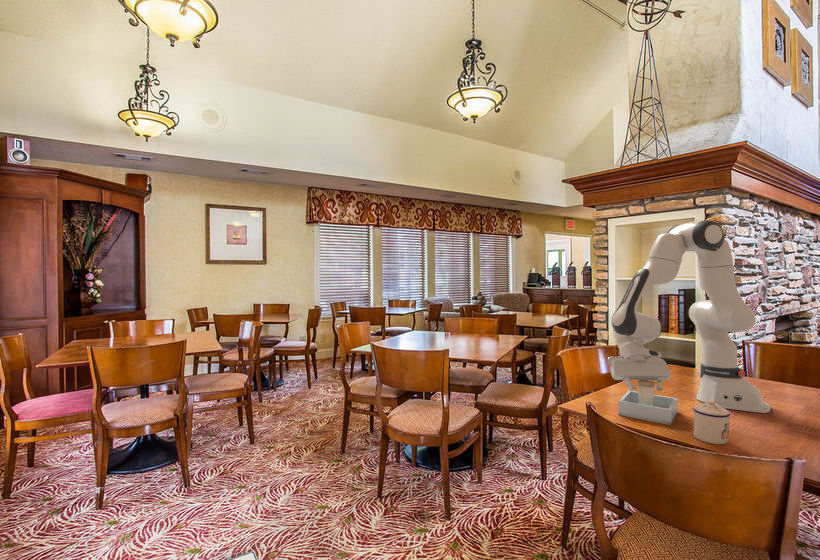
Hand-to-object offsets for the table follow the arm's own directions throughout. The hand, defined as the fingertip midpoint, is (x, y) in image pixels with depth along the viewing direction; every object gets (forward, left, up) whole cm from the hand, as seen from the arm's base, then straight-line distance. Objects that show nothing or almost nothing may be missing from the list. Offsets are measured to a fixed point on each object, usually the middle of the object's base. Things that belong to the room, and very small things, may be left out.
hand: (646, 389), depth 152 cm
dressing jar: (0, -1, -7) cm, 7 cm away
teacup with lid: (-20, +12, -9) cm, 25 cm away
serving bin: (-1, 0, -8) cm, 8 cm away
